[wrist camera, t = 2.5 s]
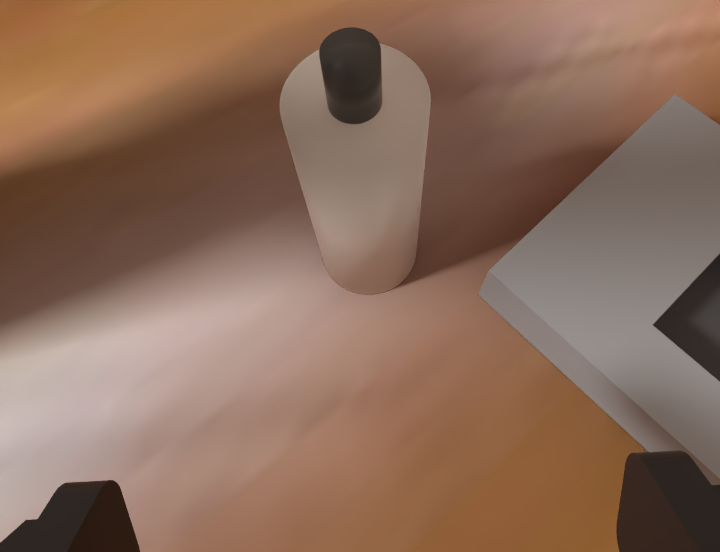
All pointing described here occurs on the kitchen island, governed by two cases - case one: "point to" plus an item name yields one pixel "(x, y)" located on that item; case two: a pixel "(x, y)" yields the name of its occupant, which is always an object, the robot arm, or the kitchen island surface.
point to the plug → (360, 155)
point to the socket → (633, 285)
